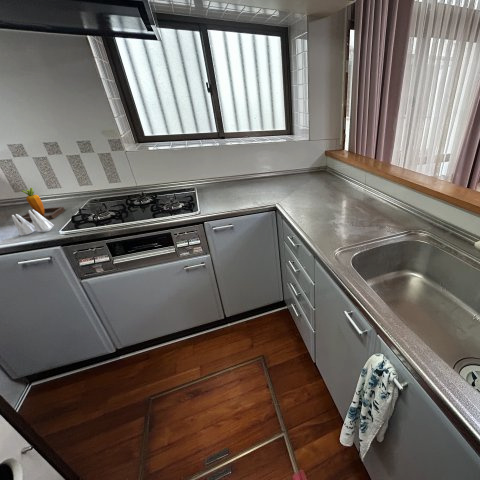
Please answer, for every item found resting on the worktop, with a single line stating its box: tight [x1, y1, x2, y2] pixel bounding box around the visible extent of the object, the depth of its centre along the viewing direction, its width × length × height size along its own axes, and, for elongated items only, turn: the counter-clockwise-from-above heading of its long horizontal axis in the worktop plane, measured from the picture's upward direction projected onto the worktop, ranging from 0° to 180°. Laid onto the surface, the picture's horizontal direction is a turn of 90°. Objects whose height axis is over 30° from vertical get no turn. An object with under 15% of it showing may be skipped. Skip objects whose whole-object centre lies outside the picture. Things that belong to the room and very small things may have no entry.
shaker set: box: [11, 209, 55, 237], centre depth 122 cm, size 12×4×11 cm, turn 107°
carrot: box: [21, 187, 46, 216], centre depth 136 cm, size 5×5×15 cm
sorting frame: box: [16, 206, 66, 223], centre depth 139 cm, size 14×12×2 cm
